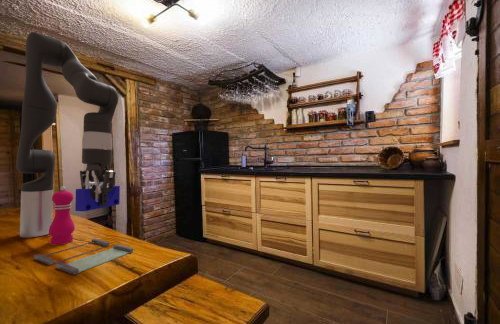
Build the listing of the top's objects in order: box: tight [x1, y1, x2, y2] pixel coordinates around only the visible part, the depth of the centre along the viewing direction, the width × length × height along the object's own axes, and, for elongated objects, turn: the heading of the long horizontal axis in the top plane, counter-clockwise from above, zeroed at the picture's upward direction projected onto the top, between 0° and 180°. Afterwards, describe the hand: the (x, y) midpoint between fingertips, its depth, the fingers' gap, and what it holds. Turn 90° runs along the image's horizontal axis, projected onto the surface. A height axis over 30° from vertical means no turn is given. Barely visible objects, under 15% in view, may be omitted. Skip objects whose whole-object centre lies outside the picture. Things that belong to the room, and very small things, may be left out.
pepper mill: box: [48, 185, 76, 246], centre depth 82 cm, size 7×7×20 cm
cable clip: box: [74, 185, 121, 212], centre depth 68 cm, size 12×4×6 cm, turn 166°
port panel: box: [34, 238, 134, 276], centre depth 70 cm, size 21×17×1 cm
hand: (96, 204), depth 68 cm, fingers closed on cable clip, 5 cm apart
